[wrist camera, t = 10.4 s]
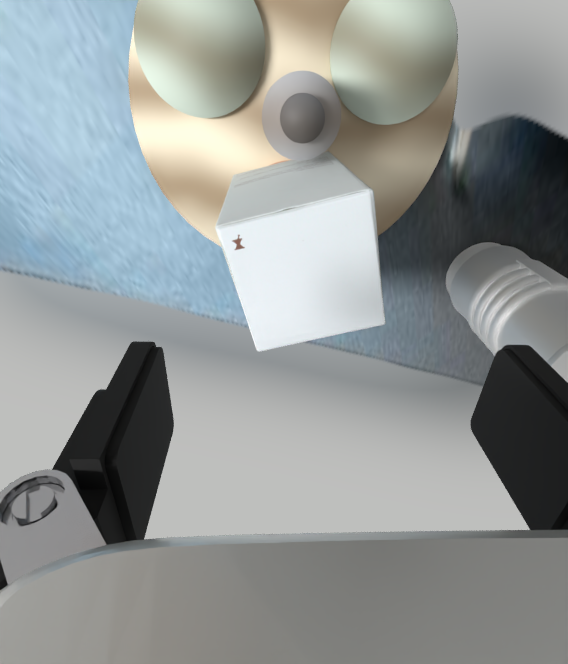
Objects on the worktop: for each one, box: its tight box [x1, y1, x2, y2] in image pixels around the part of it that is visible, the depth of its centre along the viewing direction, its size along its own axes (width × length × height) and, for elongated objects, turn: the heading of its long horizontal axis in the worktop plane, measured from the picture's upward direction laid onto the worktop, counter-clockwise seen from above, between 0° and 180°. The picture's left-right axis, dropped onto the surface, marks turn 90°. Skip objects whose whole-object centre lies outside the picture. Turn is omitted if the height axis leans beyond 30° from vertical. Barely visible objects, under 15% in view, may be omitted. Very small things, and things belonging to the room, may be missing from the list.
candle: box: [446, 242, 568, 383], centre depth 29 cm, size 7×7×15 cm
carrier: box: [128, 0, 458, 246], centre depth 25 cm, size 22×22×8 cm
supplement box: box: [215, 151, 385, 351], centre depth 25 cm, size 7×7×13 cm
